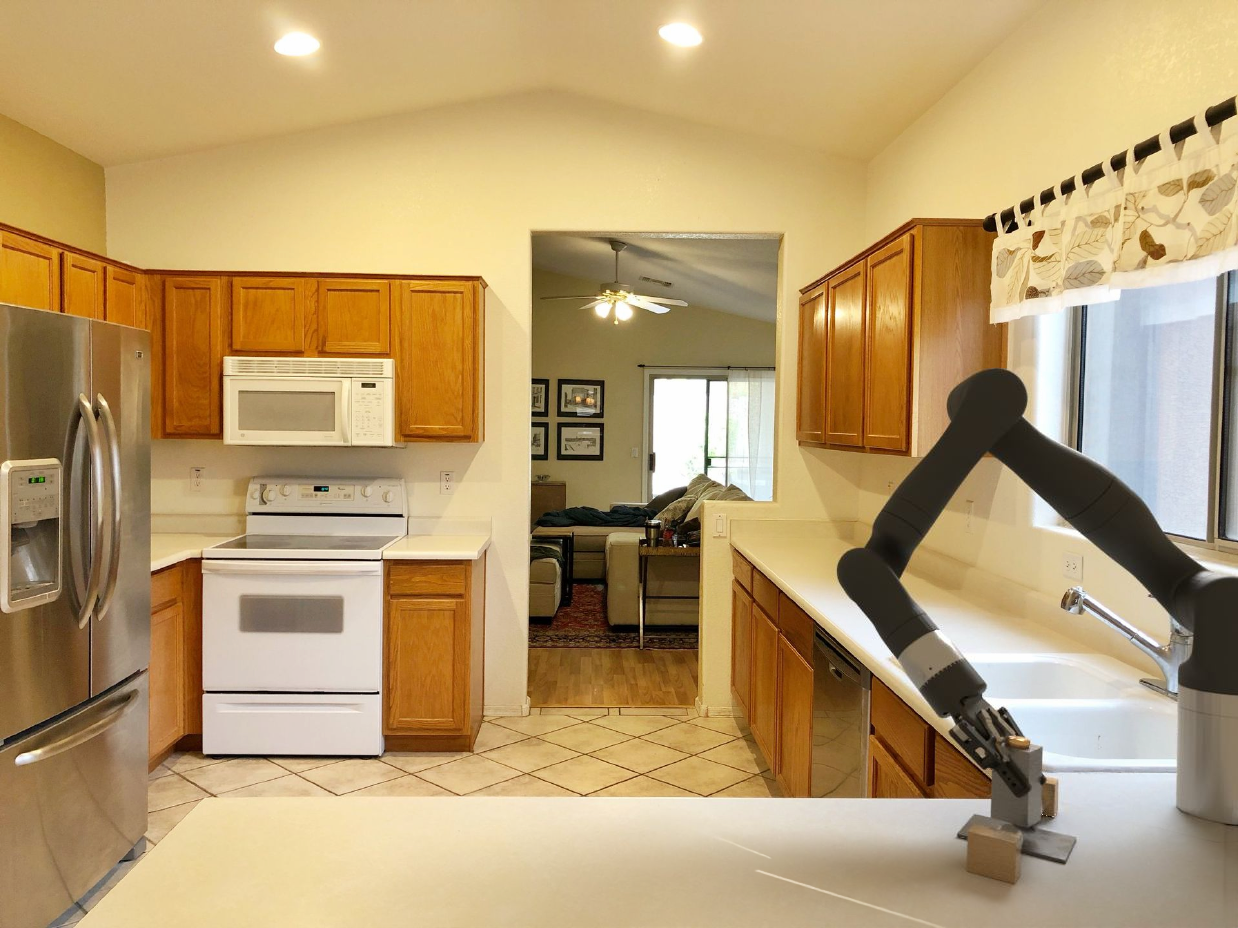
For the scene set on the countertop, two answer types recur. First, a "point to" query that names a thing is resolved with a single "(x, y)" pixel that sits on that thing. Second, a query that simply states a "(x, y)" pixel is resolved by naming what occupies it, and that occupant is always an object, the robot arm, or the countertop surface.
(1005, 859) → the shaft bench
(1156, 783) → the countertop surface
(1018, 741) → the gold-capped grey pillar
